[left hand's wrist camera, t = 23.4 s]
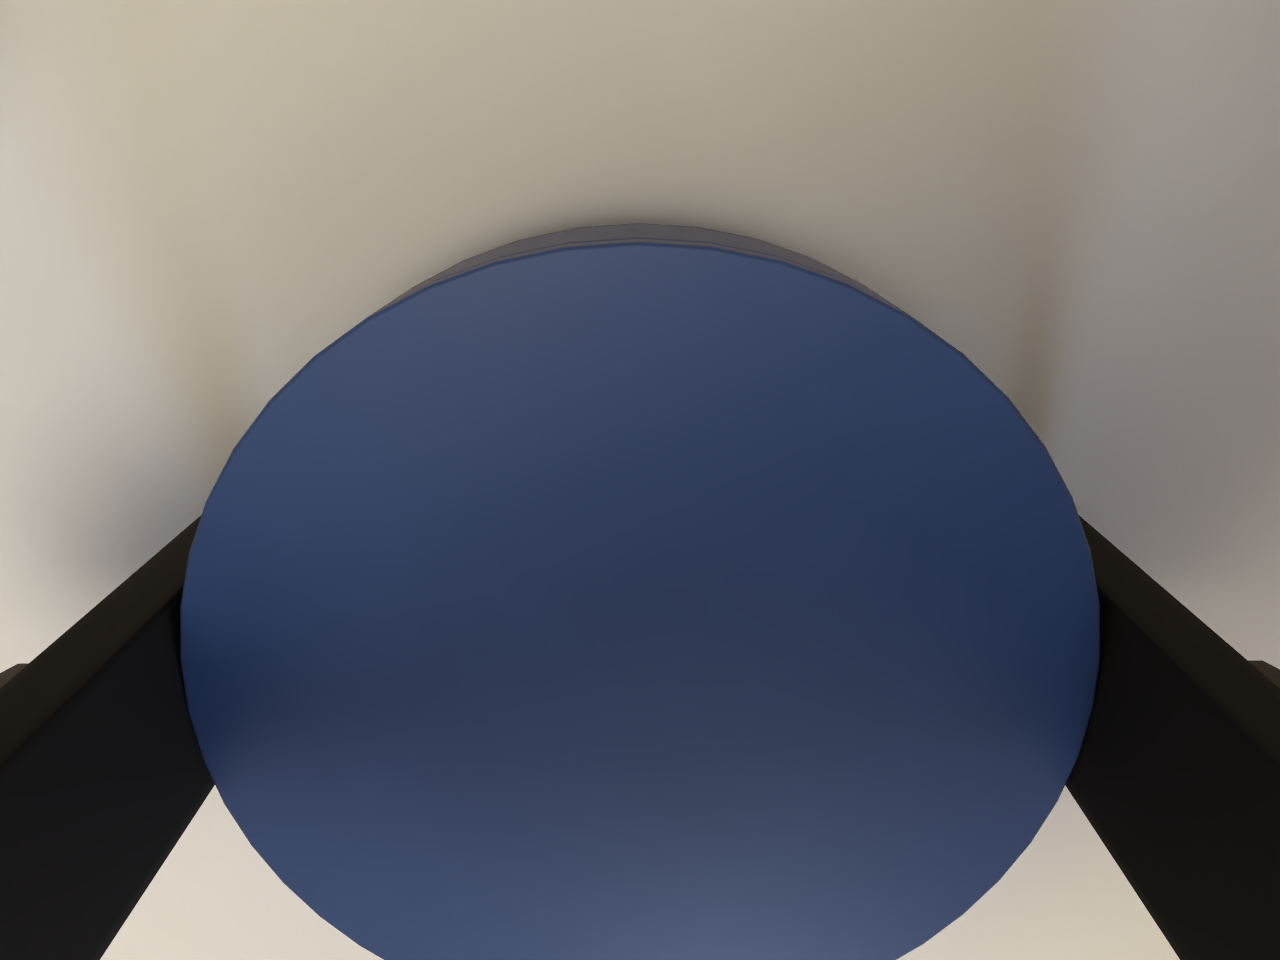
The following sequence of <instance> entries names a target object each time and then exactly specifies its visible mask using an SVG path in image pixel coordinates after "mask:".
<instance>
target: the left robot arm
mask: <svg viewBox="0 0 1280 960" xmlns="http://www.w3.org/2000/svg"><path fill="white" fill-rule="evenodd" d="M201 516H202V515H201ZM201 516H200V517H199V518H198V519H196V520H195V521H194V522H193V523H192V524H191V525H189V526H188V527H187V528H186V529H185V530H184V531H182V532H181V533H180V534H179V535H178V536H177V537H176V538H174V539H173V540H172V541H171V542H170V543H169V544H167V545H166V546H165V547H164V548H163V549H162V550H160V551H159V552H158V553H157V554H156V555H155V556H153V557H152V558H151V559H150V560H149V561H148V562H146V563H145V564H144V565H143V566H142V567H141V568H139V569H138V570H137V571H136V572H135V573H134V574H133V575H131V576H130V577H129V578H128V579H127V580H126V581H124V582H123V583H122V584H121V585H120V586H119V587H117V588H116V589H115V590H114V591H113V592H112V593H110V594H109V595H108V596H107V597H106V598H105V599H103V600H102V601H101V602H100V603H99V604H98V605H97V606H95V607H94V608H93V609H92V610H91V611H90V612H88V613H87V614H86V615H85V616H84V617H83V618H81V619H80V620H79V621H78V622H77V623H76V624H74V625H73V626H72V627H71V628H70V629H69V630H67V631H66V632H65V633H64V634H63V635H62V636H60V637H59V638H58V639H57V640H56V641H55V642H54V643H52V644H51V645H50V646H49V647H48V648H47V649H45V650H44V651H43V652H42V653H41V654H40V655H38V656H37V657H36V658H35V659H34V660H33V661H31V662H30V663H29V664H17V665H15V666H13V667H11V668H9V669H7V670H5V671H4V672H2V673H0V960H100V959H101V957H102V956H103V954H104V953H105V951H106V949H107V948H108V946H109V945H110V943H111V942H112V940H113V939H114V937H115V936H116V934H117V933H118V931H119V930H120V928H121V927H122V925H123V924H124V922H125V921H126V919H127V918H128V916H129V914H130V913H131V911H132V910H133V908H134V907H135V905H136V904H137V902H138V901H139V899H140V898H141V896H142V895H143V893H144V892H145V890H146V889H147V887H148V886H149V884H150V883H151V881H152V879H153V878H154V876H155V875H156V873H157V872H158V870H159V869H160V867H161V866H162V864H163V863H164V861H165V860H166V858H167V857H168V855H169V854H170V852H171V851H172V849H173V848H174V846H175V844H176V843H177V841H178V840H179V838H180V837H181V835H182V834H183V832H184V831H185V829H186V828H187V826H188V825H189V823H190V822H191V820H192V819H193V817H194V816H195V814H196V813H197V811H198V809H199V808H200V806H201V805H202V803H203V802H204V800H205V799H206V797H207V796H208V794H209V793H210V791H211V790H212V788H213V787H214V785H215V783H214V781H213V779H212V777H211V775H210V772H209V770H208V768H207V766H206V764H205V762H204V760H203V757H202V754H201V751H200V748H199V744H198V741H197V738H196V735H195V732H194V728H193V725H192V722H191V719H190V715H189V712H188V707H187V701H186V694H185V688H184V681H183V675H182V668H181V662H180V607H181V601H182V594H183V588H184V582H185V576H186V569H187V563H188V557H189V552H190V549H191V546H192V543H193V540H194V537H195V534H196V531H197V528H198V525H199V522H200V519H201ZM1078 516H1079V515H1078ZM1079 518H1080V521H1081V524H1082V527H1083V530H1084V533H1085V536H1086V539H1087V542H1088V545H1089V548H1090V551H1091V557H1092V562H1093V568H1094V574H1095V580H1096V586H1097V592H1098V597H1099V603H1100V663H1099V670H1098V676H1097V683H1096V690H1095V697H1094V704H1093V709H1092V713H1091V716H1090V719H1089V723H1088V726H1087V729H1086V733H1085V736H1084V739H1083V742H1082V746H1081V749H1080V752H1079V756H1078V758H1077V760H1076V762H1075V764H1074V767H1073V769H1072V771H1071V773H1070V775H1069V777H1068V779H1067V782H1066V784H1065V785H1066V787H1067V788H1068V790H1069V791H1070V793H1071V794H1072V796H1073V797H1074V799H1075V800H1076V802H1077V803H1078V805H1079V806H1080V808H1081V809H1082V811H1083V813H1084V814H1085V816H1086V817H1087V819H1088V820H1089V822H1090V823H1091V825H1092V826H1093V828H1094V829H1095V831H1096V832H1097V834H1098V835H1099V837H1100V838H1101V840H1102V841H1103V843H1104V844H1105V846H1106V848H1107V849H1108V851H1109V852H1110V854H1111V855H1112V857H1113V858H1114V860H1115V861H1116V863H1117V864H1118V866H1119V867H1120V869H1121V870H1122V872H1123V873H1124V875H1125V876H1126V878H1127V879H1128V881H1129V883H1130V884H1131V886H1132V887H1133V889H1134V890H1135V892H1136V893H1137V895H1138V896H1139V898H1140V899H1141V901H1142V902H1143V904H1144V905H1145V907H1146V908H1147V910H1148V911H1149V913H1150V914H1151V916H1152V918H1153V919H1154V921H1155V922H1156V924H1157V925H1158V927H1159V928H1160V930H1161V931H1162V933H1163V934H1164V936H1165V937H1166V939H1167V940H1168V942H1169V943H1170V945H1171V946H1172V948H1173V949H1174V951H1175V953H1176V954H1177V956H1178V957H1179V959H1180V960H1280V670H1279V669H1277V668H1276V667H1274V666H1272V665H1270V664H1268V663H1266V662H1264V661H1247V660H1246V659H1245V658H1244V657H1243V656H1242V655H1240V654H1239V653H1238V652H1237V651H1236V650H1235V649H1233V648H1232V647H1231V646H1230V645H1229V644H1228V643H1226V642H1225V641H1224V640H1223V639H1222V638H1221V637H1220V636H1218V635H1217V634H1216V633H1215V632H1214V631H1213V630H1211V629H1210V628H1209V627H1208V626H1207V625H1206V624H1204V623H1203V622H1202V621H1201V620H1200V619H1199V618H1197V617H1196V616H1195V615H1194V614H1193V613H1192V612H1190V611H1189V610H1188V609H1187V608H1186V607H1185V606H1183V605H1182V604H1181V603H1180V602H1179V601H1178V600H1177V599H1175V598H1174V597H1173V596H1172V595H1171V594H1170V593H1168V592H1167V591H1166V590H1165V589H1164V588H1163V587H1161V586H1160V585H1159V584H1158V583H1157V582H1156V581H1154V580H1153V579H1152V578H1151V577H1150V576H1149V575H1147V574H1146V573H1145V572H1144V571H1143V570H1142V569H1141V568H1139V567H1138V566H1137V565H1136V564H1135V563H1134V562H1132V561H1131V560H1130V559H1129V558H1128V557H1127V556H1125V555H1124V554H1123V553H1122V552H1121V551H1120V550H1118V549H1117V548H1116V547H1115V546H1114V545H1113V544H1111V543H1110V542H1109V541H1108V540H1107V539H1106V538H1104V537H1103V536H1102V535H1101V534H1100V533H1099V532H1098V531H1096V530H1095V529H1094V528H1093V527H1092V526H1091V525H1089V524H1088V523H1087V522H1086V521H1085V520H1084V519H1082V518H1081V517H1080V516H1079Z"/></svg>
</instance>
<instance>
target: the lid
mask: <svg viewBox="0 0 1280 960" xmlns="http://www.w3.org/2000/svg"><path fill="white" fill-rule="evenodd" d="M180 662H181V668H182V675H183V681H184V688H185V694H186V701H187V707H188V712H189V715H190V719H191V722H192V725H193V728H194V732H195V735H196V738H197V741H198V744H199V748H200V751H201V754H202V757H203V760H204V762H205V764H206V766H207V768H208V770H209V772H210V775H211V777H212V779H213V781H214V783H215V785H216V787H217V789H218V791H219V793H220V796H221V798H222V800H223V802H224V804H225V805H226V807H227V808H228V810H229V812H230V813H231V815H232V816H233V818H234V819H235V821H236V822H237V824H238V825H239V827H240V828H241V830H242V831H243V833H244V835H245V836H246V838H247V839H248V841H249V842H250V844H251V845H252V846H253V848H254V849H255V850H256V851H257V852H258V853H259V855H260V856H261V857H262V858H263V859H264V860H265V862H266V863H267V864H268V865H269V866H270V868H271V869H272V870H273V871H274V872H275V873H276V875H277V876H278V877H279V878H280V879H281V880H282V882H283V883H284V884H285V885H286V886H288V887H289V888H290V889H291V890H292V891H293V892H294V893H295V894H296V895H297V896H298V897H299V898H301V899H302V900H303V901H304V902H305V903H306V904H307V905H308V906H309V907H310V908H311V909H312V910H314V911H315V912H316V913H317V914H318V915H319V916H320V917H321V918H323V919H324V920H326V921H327V922H328V923H330V924H331V925H332V926H334V927H335V928H336V929H338V930H339V931H341V932H342V933H343V934H345V935H346V936H347V937H349V938H350V939H351V940H353V941H354V942H356V943H357V944H358V945H360V946H361V947H363V948H365V949H367V950H368V951H370V952H372V953H374V954H375V955H377V956H379V957H380V958H382V959H384V960H897V959H898V958H900V957H902V956H903V955H905V954H907V953H908V952H910V951H912V950H914V949H915V948H917V947H919V946H920V945H922V944H924V943H925V942H926V941H928V940H929V939H930V938H932V937H933V936H934V935H936V934H937V933H938V932H940V931H941V930H943V929H944V928H945V927H947V926H948V925H949V924H951V923H952V922H953V921H955V920H956V919H957V918H959V917H960V916H961V915H963V914H964V913H965V912H966V911H967V910H968V909H969V908H970V907H971V906H972V905H973V904H975V903H976V902H977V901H978V900H979V899H980V898H981V897H982V896H983V895H984V894H985V893H986V892H987V891H988V890H989V889H991V888H992V887H993V886H994V885H995V884H996V883H997V882H998V881H999V880H1000V879H1001V878H1002V876H1003V875H1004V874H1005V873H1006V872H1007V870H1008V869H1009V868H1010V867H1011V866H1012V864H1013V863H1014V862H1015V861H1016V860H1017V858H1018V857H1019V856H1020V855H1021V854H1022V853H1023V851H1024V850H1025V849H1026V848H1027V847H1028V845H1029V844H1030V843H1031V842H1032V840H1033V838H1034V837H1035V835H1036V834H1037V832H1038V831H1039V829H1040V827H1041V826H1042V824H1043V823H1044V821H1045V820H1046V818H1047V817H1048V815H1049V813H1050V812H1051V810H1052V809H1053V807H1054V806H1055V804H1056V803H1057V801H1058V799H1059V797H1060V795H1061V792H1062V790H1063V788H1064V786H1065V784H1066V782H1067V779H1068V777H1069V775H1070V773H1071V771H1072V769H1073V767H1074V764H1075V762H1076V760H1077V758H1078V756H1079V752H1080V749H1081V746H1082V742H1083V739H1084V736H1085V733H1086V729H1087V726H1088V723H1089V719H1090V716H1091V713H1092V709H1093V704H1094V697H1095V690H1096V683H1097V676H1098V670H1099V663H1100V603H1099V597H1098V592H1097V586H1096V580H1095V574H1094V568H1093V562H1092V557H1091V551H1090V548H1089V545H1088V542H1087V539H1086V536H1085V533H1084V530H1083V527H1082V524H1081V521H1080V518H1079V516H1078V513H1077V510H1076V507H1075V504H1074V501H1073V498H1072V496H1071V494H1070V492H1069V490H1068V488H1067V487H1066V485H1065V483H1064V481H1063V479H1062V477H1061V475H1060V473H1059V472H1058V470H1057V468H1056V466H1055V464H1054V462H1053V460H1052V458H1051V457H1050V455H1049V453H1048V451H1047V449H1046V447H1045V446H1044V444H1043V443H1042V442H1041V440H1040V439H1039V438H1038V436H1037V435H1036V434H1035V432H1034V431H1033V430H1032V428H1031V427H1030V426H1029V424H1028V423H1027V422H1026V420H1025V419H1024V418H1023V416H1022V415H1021V414H1020V413H1019V411H1018V410H1017V409H1016V407H1015V406H1014V405H1013V403H1012V402H1011V401H1010V399H1009V398H1008V397H1007V396H1006V395H1005V394H1004V393H1003V392H1002V391H1001V390H1000V389H999V388H998V387H997V386H996V385H995V384H994V383H993V382H992V381H991V380H990V379H988V378H987V377H986V376H985V375H984V374H983V373H982V372H981V371H980V370H979V369H978V368H977V367H976V366H975V365H974V364H973V363H972V362H971V361H970V360H969V359H968V358H967V357H966V356H965V355H964V354H963V353H961V352H960V351H958V350H957V349H956V348H954V347H953V346H952V345H950V344H949V343H947V342H946V341H945V340H943V339H942V338H940V337H939V336H938V335H936V334H935V333H933V332H932V331H931V330H929V329H928V328H926V327H925V326H924V325H922V324H921V323H919V322H918V321H917V320H915V319H914V318H912V317H911V316H910V315H908V314H907V313H905V312H904V311H902V310H900V309H899V308H898V307H896V306H894V305H893V304H891V303H890V302H888V301H887V300H885V299H884V298H882V297H881V296H879V295H878V294H876V293H875V292H873V291H872V290H870V289H869V288H867V287H866V286H864V285H862V284H861V283H859V282H857V281H855V280H853V279H851V278H849V277H847V276H845V275H843V274H841V273H839V272H837V271H835V270H834V269H832V268H830V267H828V266H826V265H824V264H822V263H820V262H818V261H816V260H814V259H812V258H809V257H806V256H804V255H801V254H798V253H795V252H792V251H789V250H786V249H784V248H781V247H778V246H775V245H772V244H769V243H767V242H764V241H761V240H758V239H754V238H749V237H744V236H739V235H734V234H729V233H724V232H719V231H714V230H709V229H704V228H699V227H686V226H670V225H655V224H639V223H637V224H624V225H610V226H596V227H582V228H575V229H570V230H565V231H561V232H556V233H551V234H546V235H542V236H537V237H532V238H528V239H523V240H519V241H516V242H513V243H510V244H508V245H505V246H502V247H499V248H497V249H494V250H491V251H488V252H485V253H483V254H480V255H477V256H474V257H472V258H469V259H466V260H464V261H462V262H460V263H458V264H456V265H454V266H452V267H450V268H449V269H447V270H445V271H443V272H441V273H439V274H437V275H435V276H433V277H432V278H430V279H428V280H426V281H424V282H422V283H420V284H418V285H416V286H415V287H413V288H411V289H410V290H408V291H407V292H405V293H404V294H402V295H401V296H399V297H398V298H396V299H395V300H393V301H392V302H390V303H389V304H387V305H386V306H384V307H383V308H381V309H379V310H378V311H377V312H375V313H373V314H372V315H370V316H369V317H367V318H366V319H365V320H363V321H362V322H361V323H359V324H358V325H356V326H355V327H354V328H352V329H351V330H350V331H348V332H347V333H345V334H344V335H343V336H341V337H340V338H339V339H337V340H336V341H335V342H333V343H332V344H330V345H329V346H328V347H326V348H325V349H324V350H322V351H321V352H319V353H318V354H317V355H315V356H314V357H313V358H312V359H311V360H310V361H309V362H308V363H307V364H306V365H305V366H304V367H303V368H302V369H301V370H300V371H299V372H298V373H297V374H296V375H295V376H294V377H293V378H292V379H291V380H290V381H289V382H288V383H287V384H286V385H285V386H284V387H283V388H282V389H281V390H280V391H279V392H278V393H277V394H276V395H275V396H274V397H273V398H272V399H271V400H270V401H269V402H268V403H267V405H266V406H265V407H264V409H263V410H262V411H261V413H260V414H259V415H258V417H257V418H256V419H255V421H254V422H253V423H252V425H251V426H250V428H249V429H248V430H247V432H246V433H245V434H244V436H243V437H242V438H241V440H240V441H239V442H238V444H237V445H236V446H235V448H234V449H233V451H232V453H231V455H230V457H229V459H228V461H227V462H226V464H225V466H224V468H223V470H222V472H221V474H220V476H219V478H218V480H217V482H216V484H215V486H214V487H213V489H212V491H211V493H210V495H209V497H208V499H207V501H206V504H205V507H204V510H203V513H202V516H201V519H200V522H199V525H198V528H197V531H196V534H195V537H194V540H193V543H192V546H191V549H190V552H189V557H188V563H187V569H186V576H185V582H184V588H183V594H182V601H181V607H180Z"/></svg>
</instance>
